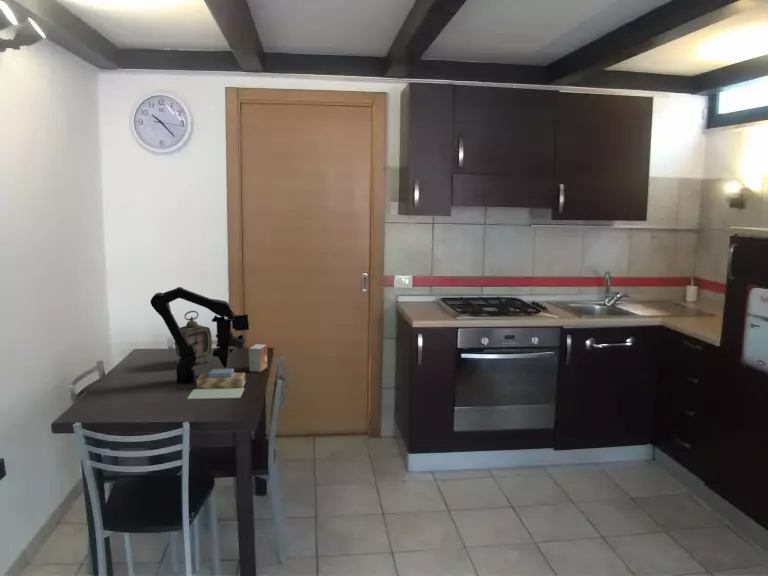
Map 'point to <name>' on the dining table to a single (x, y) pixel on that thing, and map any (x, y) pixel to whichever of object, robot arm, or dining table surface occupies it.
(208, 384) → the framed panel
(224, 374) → the slate blue board
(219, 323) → the robot arm
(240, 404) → the dining table surface
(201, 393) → the mat
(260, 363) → the small box
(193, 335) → the tabletop clock
